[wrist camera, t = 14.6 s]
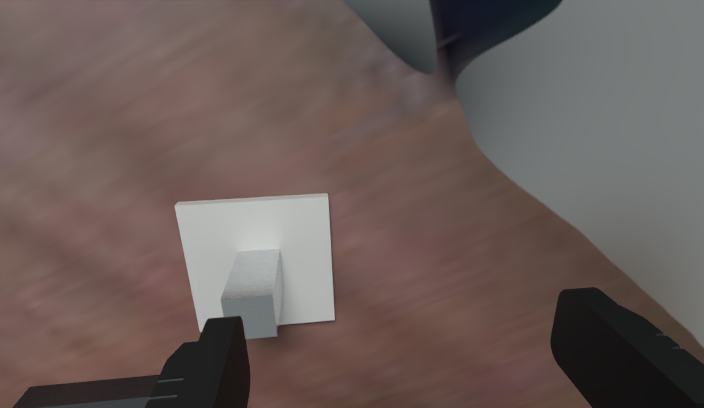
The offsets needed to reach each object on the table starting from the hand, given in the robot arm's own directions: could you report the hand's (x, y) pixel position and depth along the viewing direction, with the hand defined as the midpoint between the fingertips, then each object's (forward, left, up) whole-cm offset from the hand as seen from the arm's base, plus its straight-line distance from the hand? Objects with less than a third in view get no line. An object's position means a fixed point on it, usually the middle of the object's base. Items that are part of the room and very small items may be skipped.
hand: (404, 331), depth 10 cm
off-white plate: (-8, -13, -28) cm, 32 cm away
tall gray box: (-8, -13, -27) cm, 31 cm away
